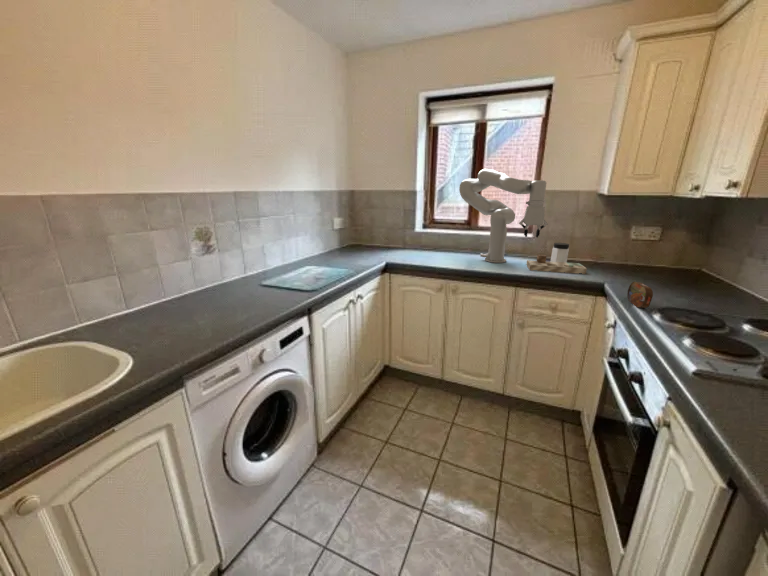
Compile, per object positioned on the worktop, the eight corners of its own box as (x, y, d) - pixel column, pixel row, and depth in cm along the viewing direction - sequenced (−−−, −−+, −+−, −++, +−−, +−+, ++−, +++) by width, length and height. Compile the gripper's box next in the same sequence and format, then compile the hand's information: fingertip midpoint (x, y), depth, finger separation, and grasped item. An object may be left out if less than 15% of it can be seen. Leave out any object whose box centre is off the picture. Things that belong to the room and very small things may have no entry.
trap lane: (529, 270, 183) (530, 264, 182) (526, 265, 195) (526, 260, 194) (585, 273, 176) (586, 268, 175) (578, 268, 188) (579, 263, 187)
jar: (562, 265, 195) (566, 245, 192) (548, 263, 201) (551, 243, 197) (568, 263, 201) (571, 243, 198) (554, 261, 207) (557, 242, 203)
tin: (625, 298, 137) (629, 278, 134) (634, 299, 136) (638, 279, 134) (640, 310, 123) (646, 289, 121) (650, 311, 122) (656, 290, 120)
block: (537, 262, 187) (538, 255, 186) (536, 261, 191) (537, 254, 190) (545, 263, 186) (546, 256, 185) (543, 261, 190) (545, 254, 189)
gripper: (520, 203, 180) (516, 237, 185) (554, 204, 176) (549, 238, 181) (518, 203, 187) (514, 235, 192) (551, 204, 182) (546, 236, 188)
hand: (531, 236), depth 186 cm, fingers open, 5 cm apart
